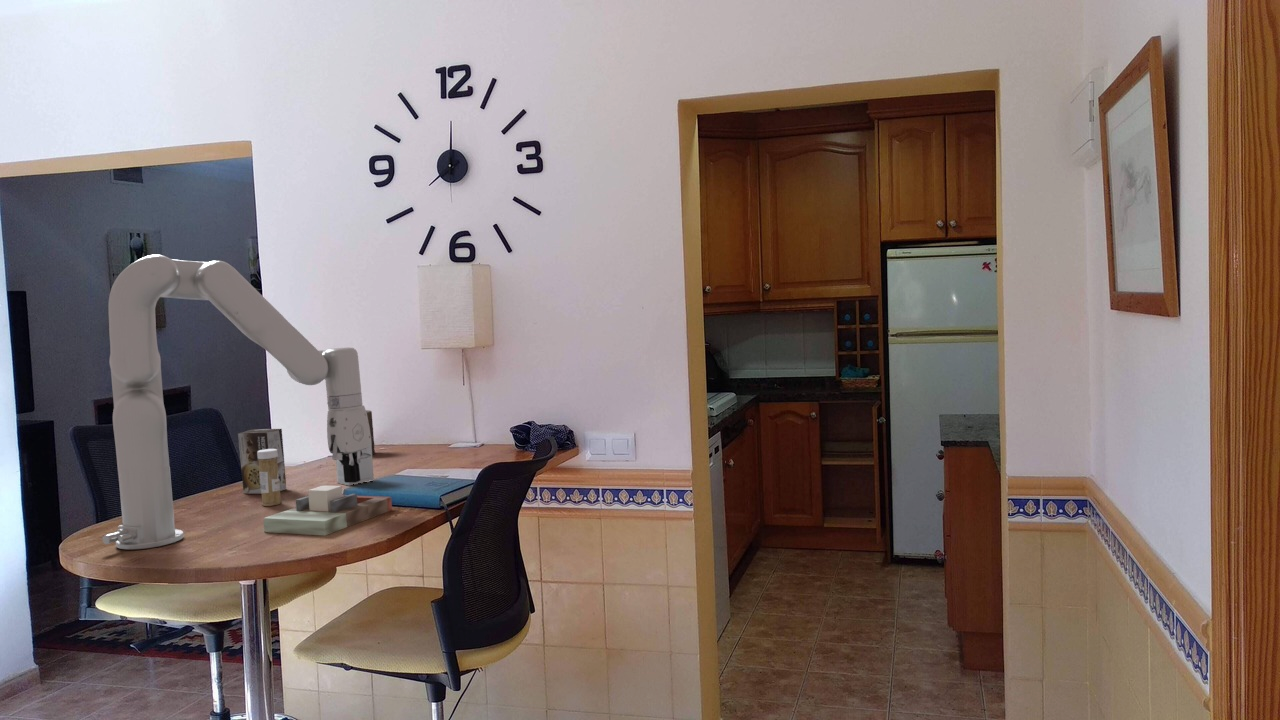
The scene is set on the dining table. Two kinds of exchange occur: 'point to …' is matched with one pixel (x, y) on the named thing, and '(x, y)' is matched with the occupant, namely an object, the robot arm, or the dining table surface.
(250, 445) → the coffee box
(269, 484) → the sprinkles bottle
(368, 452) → the supplement box
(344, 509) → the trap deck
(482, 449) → the dining table surface
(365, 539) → the dining table surface
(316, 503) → the cream block
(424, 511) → the dining table surface
